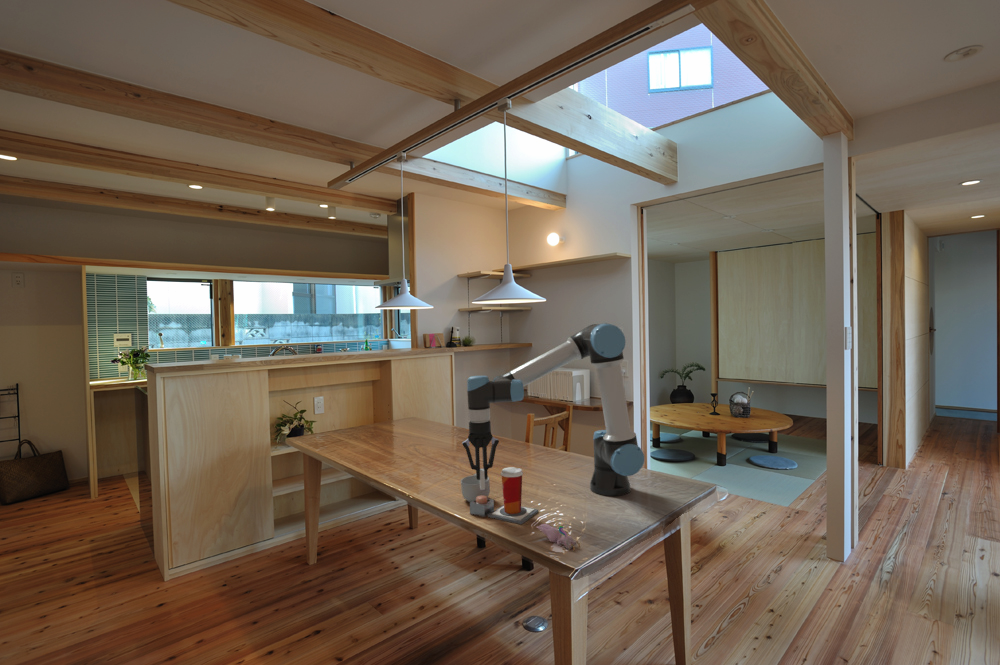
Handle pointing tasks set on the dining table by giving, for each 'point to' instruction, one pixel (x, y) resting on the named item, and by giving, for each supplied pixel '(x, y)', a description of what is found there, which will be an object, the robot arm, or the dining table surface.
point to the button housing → (482, 507)
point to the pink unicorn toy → (558, 536)
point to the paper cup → (512, 489)
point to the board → (513, 515)
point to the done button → (481, 499)
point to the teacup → (473, 488)
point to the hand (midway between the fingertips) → (482, 488)
